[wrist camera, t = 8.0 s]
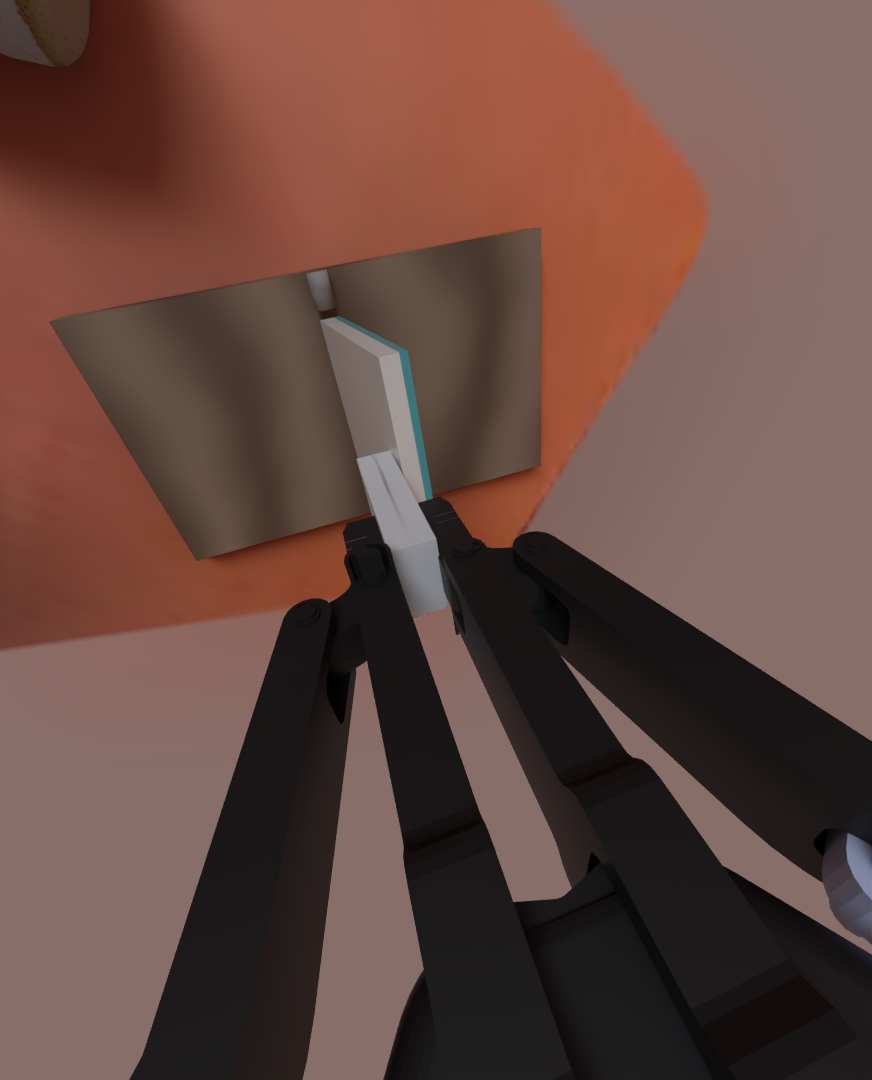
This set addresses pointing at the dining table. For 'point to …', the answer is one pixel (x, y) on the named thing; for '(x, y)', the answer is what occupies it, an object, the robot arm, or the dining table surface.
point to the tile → (378, 399)
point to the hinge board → (317, 384)
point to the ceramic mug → (44, 30)
